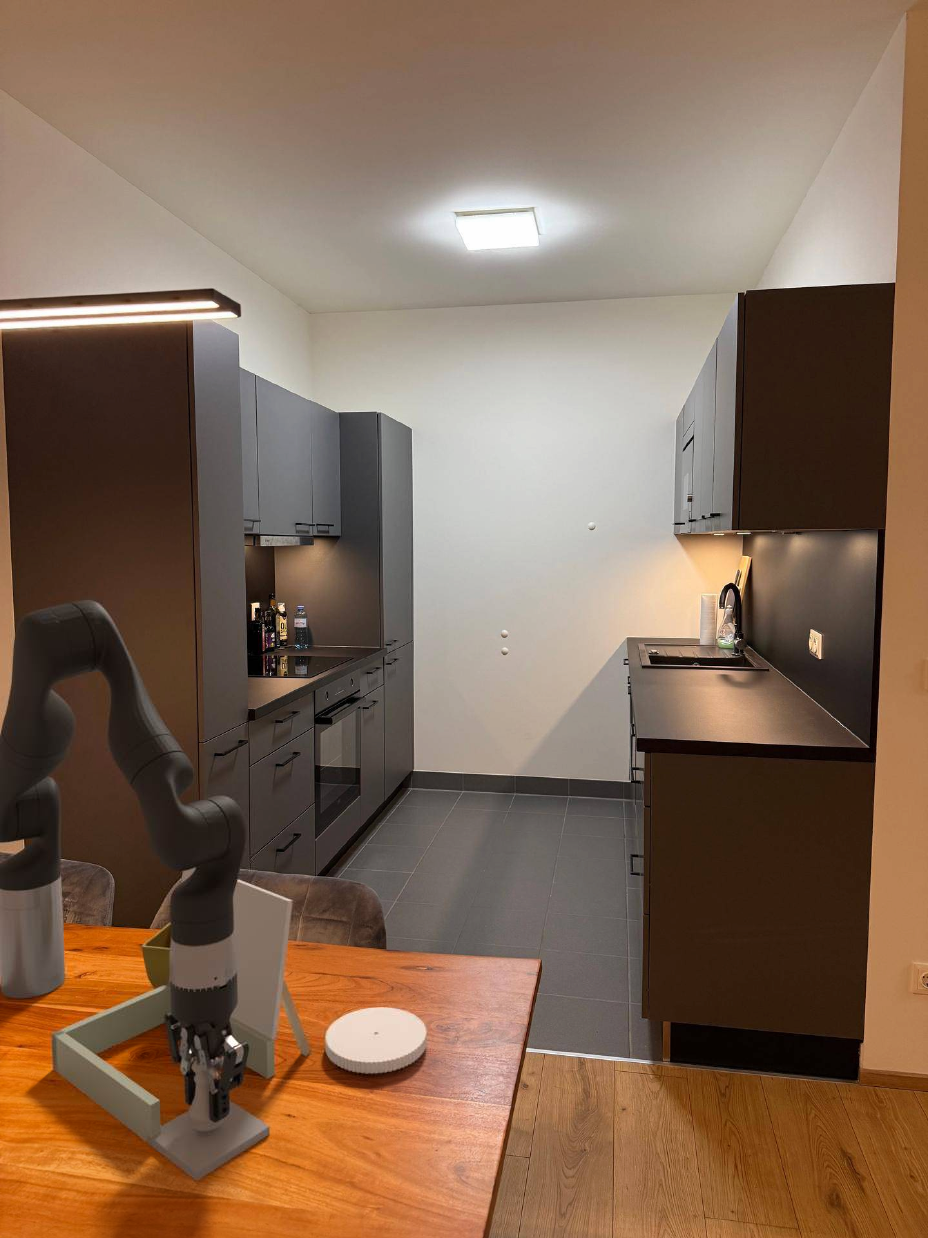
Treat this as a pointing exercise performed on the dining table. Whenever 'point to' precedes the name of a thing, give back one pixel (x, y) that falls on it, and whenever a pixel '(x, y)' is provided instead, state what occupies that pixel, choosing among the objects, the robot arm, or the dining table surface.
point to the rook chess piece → (201, 1101)
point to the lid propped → (259, 954)
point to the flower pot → (158, 957)
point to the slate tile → (208, 1141)
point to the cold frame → (130, 1020)
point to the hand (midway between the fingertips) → (207, 1109)
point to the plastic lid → (375, 1040)
